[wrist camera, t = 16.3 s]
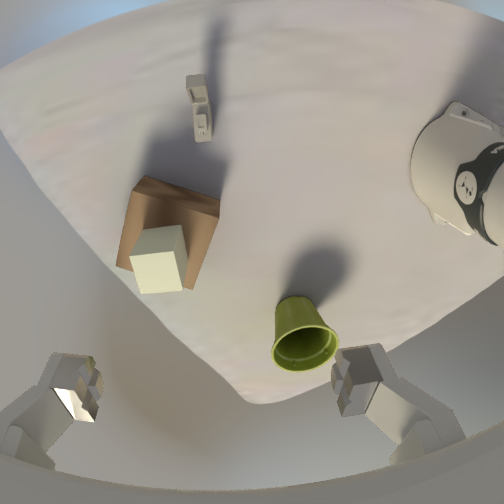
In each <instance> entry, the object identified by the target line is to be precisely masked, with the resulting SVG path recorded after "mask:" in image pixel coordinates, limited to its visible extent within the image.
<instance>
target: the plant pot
mask: <svg viewBox="0 0 504 504" xmlns="http://www.w3.org/2000/svg"><path fill="white" fill-rule="evenodd" d="M338 347H339V339H338V336H337V334H336V333H335V332H334V331H333V330H332V329H331V328H329V326H327V325H326V324H325V322H324V321H323V319H322V318H321V316H320V315H319V313H318V311H317V310H316V308H315V306H314V305H313V303H312V302H311V300H309V299H308V298H306V297H303V296H302V297H295V296H292V297H289V298H286V299H285V300H283V301H282V302H281V303H280V304H279V305H278V306H277V308H276V312H275V341H274V345H273V347H272V350H271V357H272V360H273V362H274V364H275V365H276V366H278V367H279V368H281V369H283V370H285V371H289V372H306V371H310V370H313V369H316V368H318V367H320V366H322V365H324V364H325V363H327V362H328V361H329V360H330V359H331V358H332V357H333V356H334V355H335V353H336V351H337V350H338Z"/></svg>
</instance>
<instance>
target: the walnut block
mask: <svg viewBox="0 0 504 504" xmlns="http://www.w3.org/2000/svg"><path fill="white" fill-rule="evenodd" d="M219 213H220V200H218V199H215V198H212V197H209V196H206V195H203V194H200V193H197V192H194V191H191V190H188V189H185V188H181V187H178V186H175V185H172V184H169V183H166V182H163V181H159V180H156V179H153V178H150V177H147V176H144V177H143V178H142V179H141V180H140V182H139V183H138V184H137V185H136V186H135V188H134V189H133V190H132V192H131V196H130V200H129V204H128V209H127V213H126V217H125V222H124V226H123V231H122V236H121V240H120V245H119V250H118V255H117V261H116V266H117V267H120V268H123V269H126V270H130V271H133V267H132V264H131V261H130V258H129V256H130V254H131V252H132V250H133V248H134V246H135V244H136V242H137V240H138V238H139V236H140V234H141V232H142V230H143V229H151V228H158V227H166V226H173V225H181V226H182V231H183V236H184V241H185V246H186V251H187V255H188V265H187V270H186V276H185V281H184V287H185V288H188V289H192V290H193V288H194V285H195V282H196V279H197V277H198V274H199V271H200V268H201V266H202V263H203V260H204V257H205V255H206V252H207V249H208V247H209V244H210V241H211V239H212V236H213V234H214V231H215V228H216V226H217V223H218V220H219ZM133 272H134V271H133Z"/></svg>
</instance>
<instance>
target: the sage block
mask: <svg viewBox="0 0 504 504" xmlns="http://www.w3.org/2000/svg"><path fill="white" fill-rule="evenodd" d="M129 258H130V261H131V264H132V267H133V271H134V274H135V277H136V280H137V283H138V286H139V289H140V292H141V294H148V293H159V292H170V291H180V290H183V287H184V281H185V276H186V270H187V265H188V255H187V251H186V246H185V241H184V236H183V231H182V226H181V225H173V226H166V227H158V228H151V229H143V230H142V232H141V234H140V236H139V238H138V240H137V242H136V244H135V246H134V248H133V250H132V252H131V254H130V256H129Z"/></svg>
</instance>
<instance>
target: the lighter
mask: <svg viewBox="0 0 504 504" xmlns="http://www.w3.org/2000/svg"><path fill="white" fill-rule="evenodd" d="M186 89H187V92H188V95H189V98H190V101H191V104H193V105H192V112H193V124H194V135H195V141H196V142H207V141H211V140H212V137H213V123H212V110H211V102H210V101H209V100H208V88H207V83H206V78H205V75H204V74H198V75H189V76H186Z"/></svg>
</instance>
